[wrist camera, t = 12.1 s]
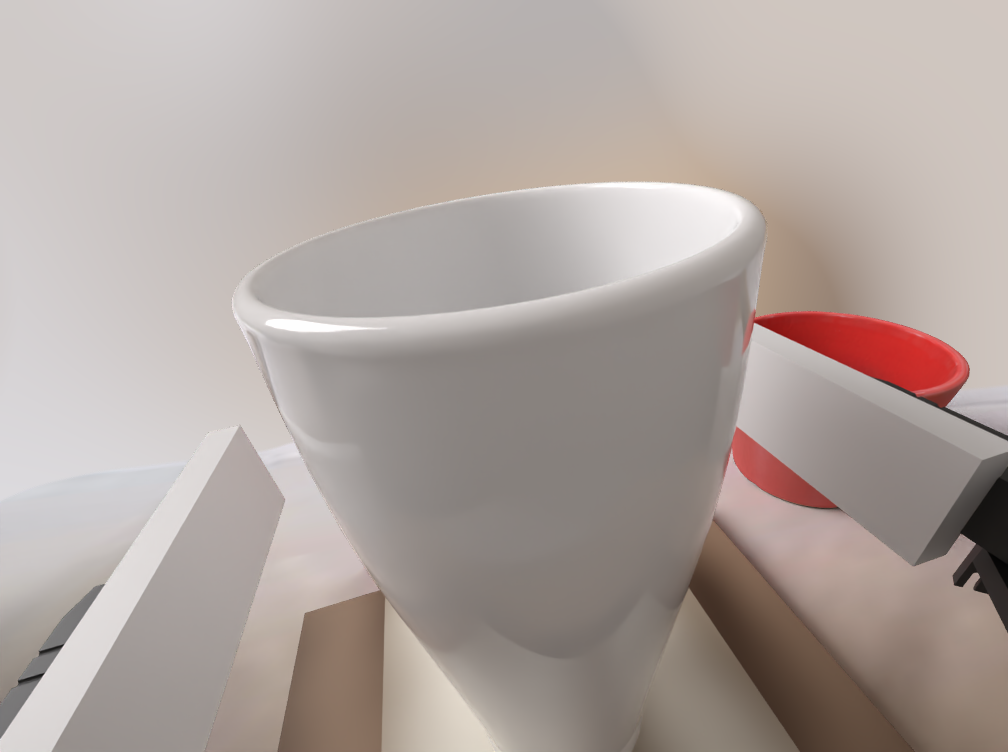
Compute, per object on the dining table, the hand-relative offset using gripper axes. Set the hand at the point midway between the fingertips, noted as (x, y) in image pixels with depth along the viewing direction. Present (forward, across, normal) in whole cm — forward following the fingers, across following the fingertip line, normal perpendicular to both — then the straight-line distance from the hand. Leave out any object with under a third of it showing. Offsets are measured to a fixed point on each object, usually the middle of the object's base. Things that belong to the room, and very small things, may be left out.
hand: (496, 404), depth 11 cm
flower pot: (+7, +21, -16) cm, 27 cm away
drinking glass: (-4, 0, -10) cm, 10 cm away
